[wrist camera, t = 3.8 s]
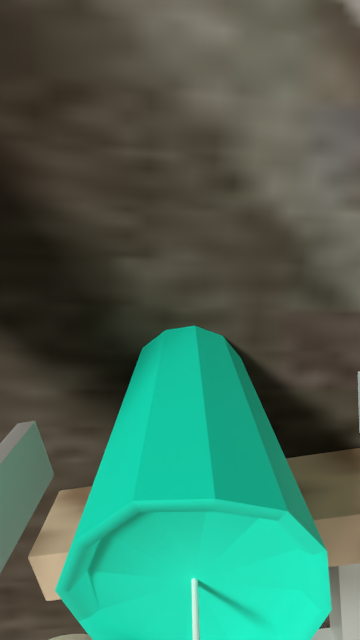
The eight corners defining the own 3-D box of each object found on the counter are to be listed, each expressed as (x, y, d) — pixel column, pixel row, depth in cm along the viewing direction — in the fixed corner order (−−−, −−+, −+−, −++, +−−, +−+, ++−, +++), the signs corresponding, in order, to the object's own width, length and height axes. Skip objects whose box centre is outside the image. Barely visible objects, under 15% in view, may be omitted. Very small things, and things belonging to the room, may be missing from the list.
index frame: (190, 653, 23) (191, 692, 21) (160, 536, 20) (157, 569, 18) (348, 637, 22) (363, 676, 20) (341, 513, 19) (359, 544, 17)
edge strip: (73, 528, 20) (46, 601, 16) (59, 490, 19) (27, 557, 15) (431, 480, 18) (497, 546, 14) (433, 437, 17) (504, 495, 14)
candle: (136, 319, 16) (6, 561, 4) (253, 331, 16) (438, 601, 4) (129, 421, 17) (22, 794, 6) (235, 431, 18) (333, 818, 6)
